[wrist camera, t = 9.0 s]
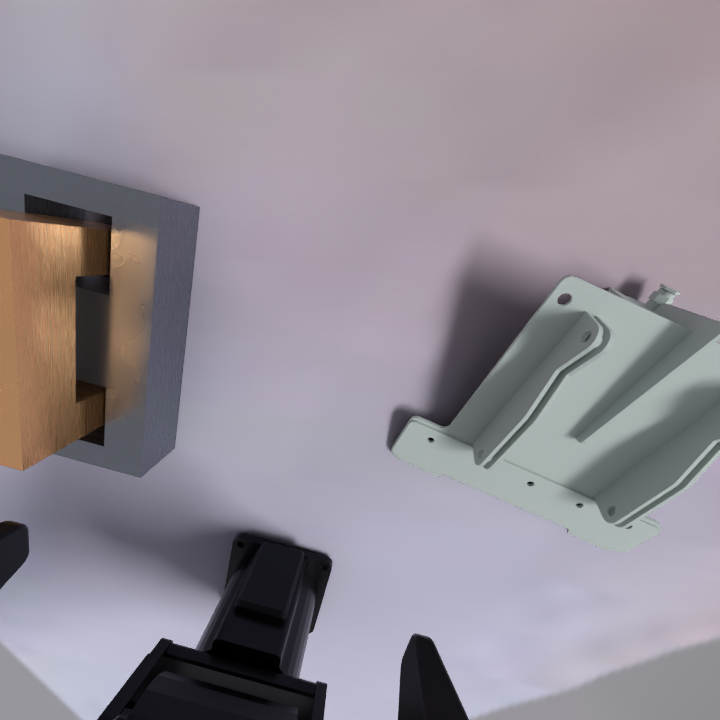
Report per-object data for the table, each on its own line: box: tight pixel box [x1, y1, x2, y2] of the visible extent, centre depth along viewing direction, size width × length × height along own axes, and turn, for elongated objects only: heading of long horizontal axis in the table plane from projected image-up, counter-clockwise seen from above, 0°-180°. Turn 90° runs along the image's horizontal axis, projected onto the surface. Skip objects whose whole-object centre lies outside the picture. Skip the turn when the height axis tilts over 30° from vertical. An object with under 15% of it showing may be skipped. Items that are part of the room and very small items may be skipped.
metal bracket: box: [391, 275, 720, 552], centre depth 18 cm, size 14×6×15 cm
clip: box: [0, 209, 112, 471], centre depth 16 cm, size 10×2×6 cm, turn 166°
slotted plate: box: [0, 154, 200, 478], centre depth 18 cm, size 14×8×3 cm, turn 166°
